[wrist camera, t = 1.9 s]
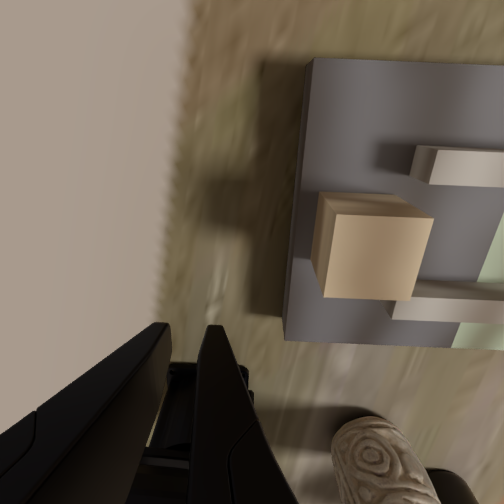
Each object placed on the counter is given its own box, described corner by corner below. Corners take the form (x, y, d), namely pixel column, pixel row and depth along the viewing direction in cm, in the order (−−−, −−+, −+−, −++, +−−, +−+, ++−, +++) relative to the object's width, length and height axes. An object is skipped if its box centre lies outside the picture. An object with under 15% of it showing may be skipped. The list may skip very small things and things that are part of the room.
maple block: (310, 259, 18) (323, 297, 14) (319, 191, 16) (336, 214, 13) (379, 262, 18) (409, 301, 14) (394, 194, 16) (434, 218, 13)
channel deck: (281, 317, 23) (287, 363, 19) (306, 65, 16) (322, 49, 12) (581, 330, 23) (652, 379, 19) (728, 83, 16) (889, 73, 12)
